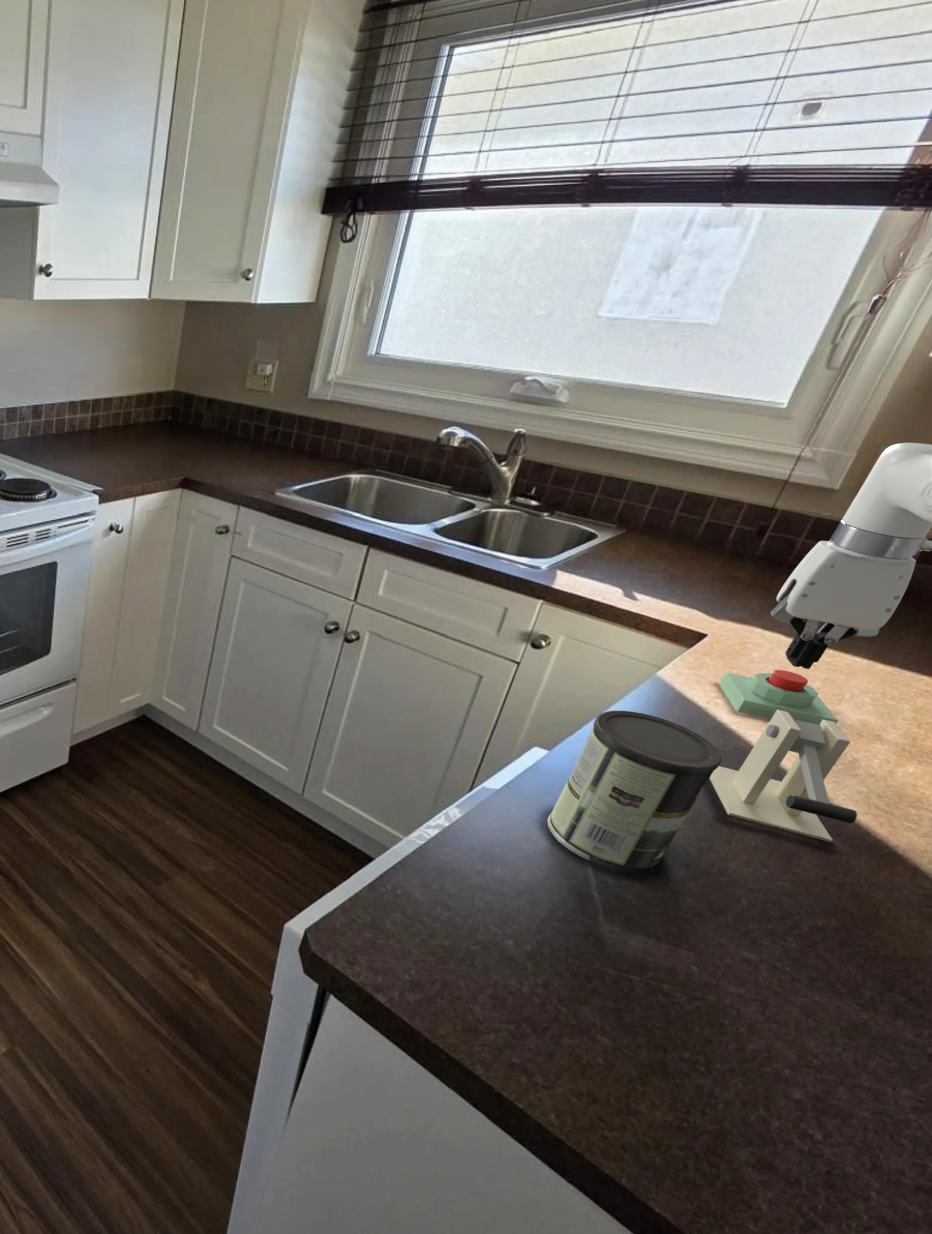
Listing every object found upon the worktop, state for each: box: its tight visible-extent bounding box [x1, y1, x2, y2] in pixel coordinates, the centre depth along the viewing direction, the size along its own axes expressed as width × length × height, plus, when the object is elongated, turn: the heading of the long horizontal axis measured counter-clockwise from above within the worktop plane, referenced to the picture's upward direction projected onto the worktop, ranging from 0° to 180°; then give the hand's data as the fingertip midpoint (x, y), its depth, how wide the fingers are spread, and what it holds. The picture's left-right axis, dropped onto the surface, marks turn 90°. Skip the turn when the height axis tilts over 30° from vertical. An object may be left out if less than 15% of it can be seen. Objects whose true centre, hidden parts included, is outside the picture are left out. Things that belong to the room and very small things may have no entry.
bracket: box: [709, 710, 851, 843], centre depth 89 cm, size 11×9×12 cm
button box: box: [718, 672, 839, 725], centre depth 111 cm, size 10×9×4 cm
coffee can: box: [547, 710, 723, 869], centre depth 83 cm, size 10×10×14 cm
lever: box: [786, 720, 858, 824], centre depth 85 cm, size 12×5×2 cm, turn 151°
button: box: [768, 669, 809, 692], centre depth 110 cm, size 4×4×2 cm
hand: (797, 663), depth 109 cm, fingers closed
